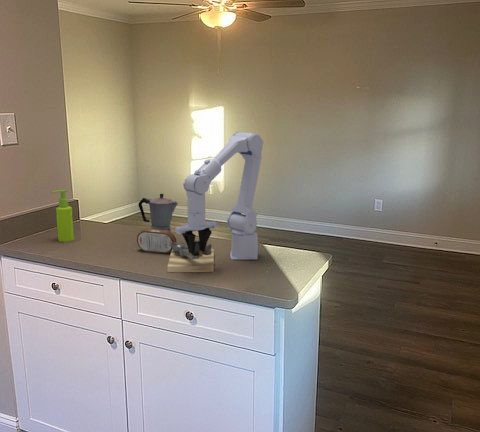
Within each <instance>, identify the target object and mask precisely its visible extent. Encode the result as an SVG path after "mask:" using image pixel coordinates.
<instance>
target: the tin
mask: <svg viewBox="0 0 480 432" xmlns="http://www.w3.org/2000/svg"><path fill="white" fill-rule="evenodd" d="M174 242H177V238H176V236H175V235H174V234H173V232H172V231H171V232H170V231H167V230H157V229H151V228H144V229H142V230H141V231H140V232H138V234H137V236H136V243H137V246H138V247H139V248H140V249H141V250H142V251H144V252H148V253H157V254H169V253H171V251H172V249H173V248H171V247H170V243H174ZM177 243H178V242H177Z"/></svg>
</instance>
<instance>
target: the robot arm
mask: <svg viewBox="0 0 480 432" xmlns="http://www.w3.org/2000/svg"><path fill="white" fill-rule="evenodd" d="M263 145H264V140H263V139H262V137H261V135H260V134H259V133H257V132H242V131H235V132H234V133H232V135H231V136H229V139H228V142H227V143H226V144H225V145H224V146H223V147H222V149H221V150H220V151H219V152H218V153H217V154H216V156H214V158H208V159H205V160H204V161H203V164H202V165H201V166H200V167H199V168H198V169H196V170H195V171H194V173H192V174H188V175H187V176H186V178H185V179H184V181H183V183H182V185H183V189H184V190H185V192H186V193H185V194H186V195H185V196H187V200H186V203H187V224H184V225H181V226H177V227H175V234H176V235H182V236H183V239H184V241H185V245H186V247H187V248H188V250H189V253H191V254H194V241H196V234H194V232H197V233H198V241H200V251H202V252H205V248H206V244H207V243H208V241H209V238H210V237H211V236H212V234H213V233H212V232H213V231H212V230H211V229H217V226H218V225H217V222H216V221H214V220H213V221H206V193H207V192H208V191H209V189H210V186H211V182H212V181H213V180H214V179H215V178H216V177H218V175H219V174H220V173H221V172H222V167H223V165H224V164H225V163H227V162H228V161H229V160H230V159H232V158H233V157H234V155H236V154H237V153H239V155H241V157H242V158H243V160H244V167H243V171H242V174H241V175H242V176H241V181H240V185H239V186H240V187H239V191H238V192H239V193H238V197H237V202H236V204H235V205H234V206H233V207H231V209H230V213H229V215H228V217H227V220H226V225H227V227H228V228H229V229H230V232H231V251H230V252H229V253H230V254H229V256H230V260H231V261H232V260H233V261H234V260H236V261H237V260H239V261H240V260H258V259H259V258H258V257H259V256H258V254H259V247H258V244H259V243H258V242H259V239H258V232H255V231H256V229H257V224H258V223H257V221H258V220H257V216H258V214H257V212H256V211H255V209H254V207H253V205H254V199H255V195H256V189H257V183H258V179H259V175H260V168H261V163H262V159H263V157H262V151H263V148H264V147H263Z"/></svg>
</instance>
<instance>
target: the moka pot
mask: <svg viewBox="0 0 480 432" xmlns="http://www.w3.org/2000/svg"><path fill="white" fill-rule="evenodd" d="M164 196H165V195H164V193H160V194H159V197H155V198H146V197H143V198H142V199H141V200H139V202H138V208H139V211H140V214H141V217H142V220H143V222H146V223H150V222H151V226H150V229H157V230H167V231H170V232H171V233H172V231H171V221H172V218H173V213H174V212H175V209H176V208H177V205H179V203H178V202H177V201H175V200H173V199H171V198H167V197H166V198H165V197H164ZM144 203H145V204H147V205H149V212H150V213H149V214H150V219H147V218H146V215H145V211H144V208H143V204H144ZM150 220H151V221H150Z"/></svg>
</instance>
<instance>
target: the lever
mask: <svg viewBox="0 0 480 432" xmlns="http://www.w3.org/2000/svg"><path fill="white" fill-rule="evenodd" d="M170 247H171V248H173V251H176V252H180V257H182V258H184V257H189V258H191V259H192V260H193V259H198V258H199V255H200V241H199V240H195V241H194V254H191V253H189V250H188V247H187V244H186V243H181V242H174V243H170Z"/></svg>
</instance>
